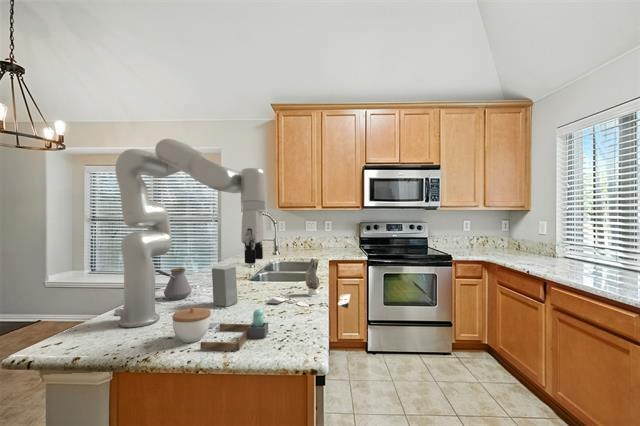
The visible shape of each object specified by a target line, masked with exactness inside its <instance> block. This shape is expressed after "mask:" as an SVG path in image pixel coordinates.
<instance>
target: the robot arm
mask: <svg viewBox="0 0 640 426" xmlns="http://www.w3.org/2000/svg"><path fill="white" fill-rule="evenodd" d="M155 145H156V146H155V150H154V151H155V152H152V151H147V150H144V149H137V148H131V149H127V150H124V151H123V152H121V154H120V155H118V157H117V160H116V162H115V167H114V168H115V175H116V176H115V177H116V180H117V183H118V188H119V192H120V193H119V194H120V203H121V204H120V205H121V213H122V218H123V222H124V224H125V225H126V226H127V227H129V228H134V229H135V228H147V230H141V231H140V230H139V231H132V232H130V233H128V234H126V235H125V236H124V237H123V239H122V240H121V242H120V250H121V255H122V261H123V308H116V309H115V310H114V312H113V314H112V315H113V316H114V317H120V319H119V320H118V321H117V325H118V326H119V327H121V328H139V327H144V326H148V325H152V324H155V323H156V322H158V321H159V320H160V318H161V316H160V314H158V313H157V312H156V267H155V264H154V262H153V260H152V257H157V256H158V257H159V256H164V255H166V254H168V252H169V251H170V250H171V249H172V242H173V240H172V238H173V237H172V229H171V221H170V216H169V211H168V210H167V208H166V207H165V205H164V204H163V203H159V202H155V201H150V195H149V190H148V186H147V184H146V182H145V180H143V178H142V176H147V177H154V178H160V179H161V178H165V177H169V176H172V175H175V174H177V173H178V172H183V173H185V174H187V175H188V176H190V177H191V178H192V179H193V180H195V181H196V182H198V183H200V184H202V185H205V186H206V187H208V188H211V189H213V190H215V191H216V192H217V191H218V192H224V193H230V194H240V210H241V211H240V212H241V213H242V217H241V235H240V236H241V243H242V244H243V245H244V248H243V249H244V263H245V264H255V263H257V260H262V259H264V252H263V251H264V250H263V249H264V247H263V240H264V218H263V217H264V215H263V213H264V212H266V192H265V191H266V187H265V184H266V183H265V179H266V178H265V172H264V170H263V169H261V168H257V167H246V168H243V169H242V170H241V171H238V170H236V169H232V168H229V167H225V166H222V165H220V164H217V163H216V162H214V161H211V160H209V159H207V158H206V155H205V154H204V153H203V152H202V151H199V150H196V149H194V148H193V147H192V146H191V145H189V144H187V143H185V142H181V141H178V140H175V139H172V138H163V139H161V140H160V141H158V142H157V143H156V144H155Z"/></svg>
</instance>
